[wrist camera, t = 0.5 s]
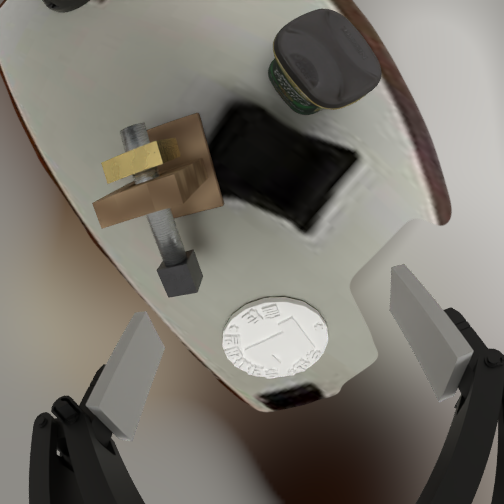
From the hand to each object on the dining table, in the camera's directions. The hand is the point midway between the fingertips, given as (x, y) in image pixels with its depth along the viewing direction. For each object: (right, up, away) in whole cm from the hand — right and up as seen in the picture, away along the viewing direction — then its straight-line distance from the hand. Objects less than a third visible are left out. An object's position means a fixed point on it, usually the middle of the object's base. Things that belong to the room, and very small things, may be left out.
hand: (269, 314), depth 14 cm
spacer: (-13, +14, +15) cm, 25 cm away
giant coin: (+4, -13, +39) cm, 41 cm away
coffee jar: (+6, +27, +20) cm, 34 cm away
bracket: (-12, +14, +26) cm, 32 cm away
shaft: (-12, +9, +19) cm, 24 cm away
